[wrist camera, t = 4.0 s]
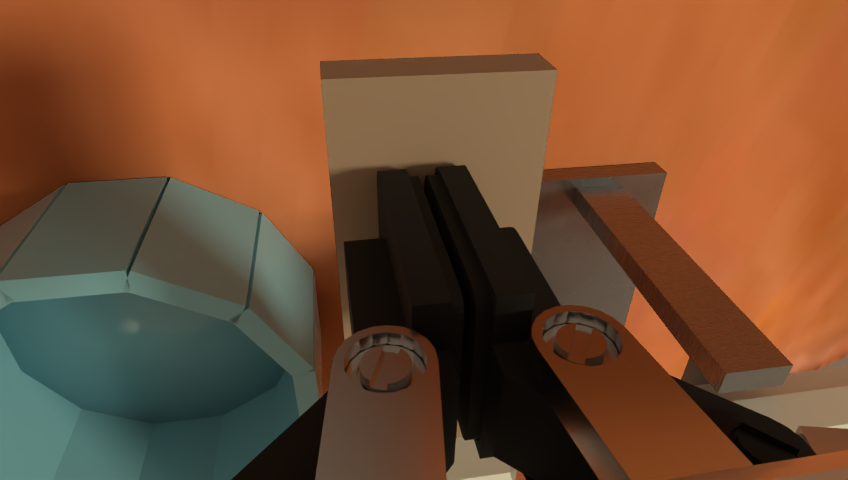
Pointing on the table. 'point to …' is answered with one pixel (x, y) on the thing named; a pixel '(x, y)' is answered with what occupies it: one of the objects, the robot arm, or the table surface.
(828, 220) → the table surface
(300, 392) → the teal round bowl
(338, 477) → the robot arm
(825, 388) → the lever
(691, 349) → the lever stand
